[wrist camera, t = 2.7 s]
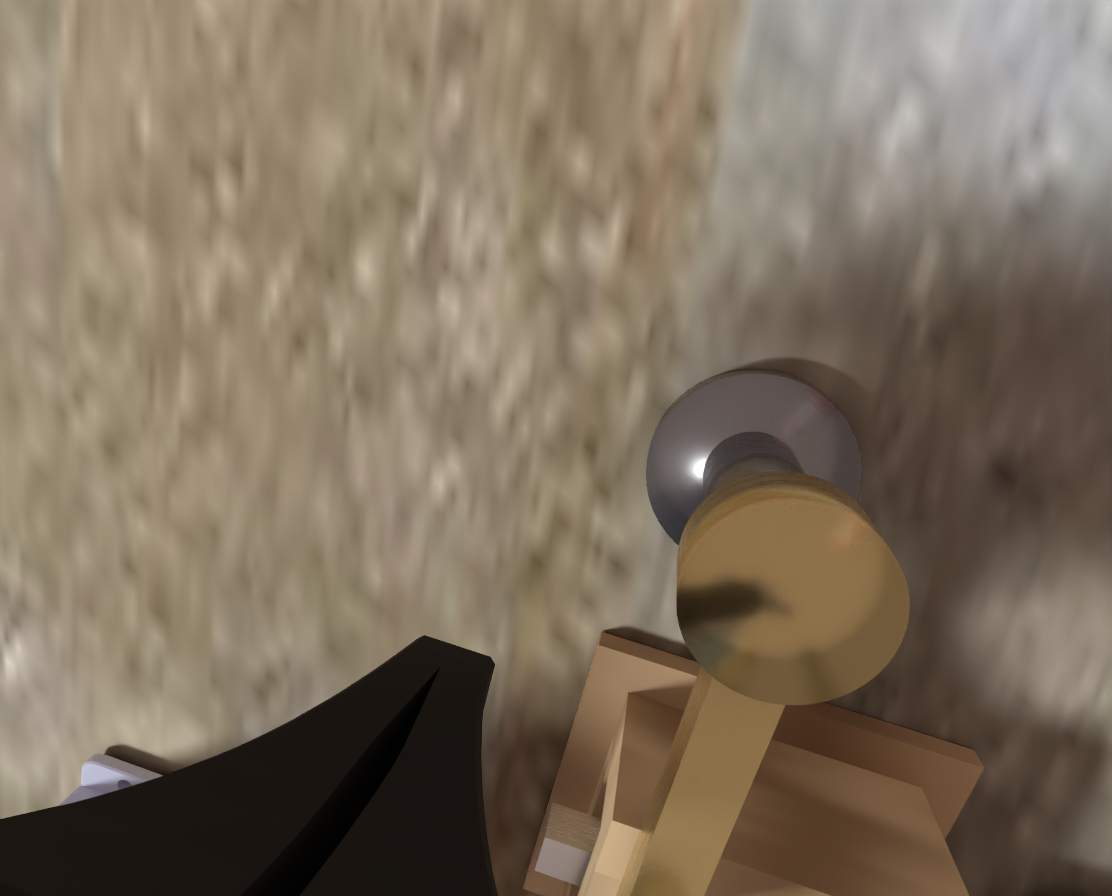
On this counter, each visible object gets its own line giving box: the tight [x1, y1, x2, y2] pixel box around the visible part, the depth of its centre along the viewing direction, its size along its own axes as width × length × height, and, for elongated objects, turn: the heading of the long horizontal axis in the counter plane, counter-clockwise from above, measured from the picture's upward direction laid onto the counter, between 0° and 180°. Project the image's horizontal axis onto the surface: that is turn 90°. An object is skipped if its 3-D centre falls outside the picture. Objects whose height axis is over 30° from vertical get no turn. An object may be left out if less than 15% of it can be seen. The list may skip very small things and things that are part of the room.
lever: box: [616, 471, 910, 896], centre depth 11 cm, size 9×3×2 cm, turn 166°
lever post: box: [646, 369, 862, 545], centre depth 13 cm, size 4×4×4 cm
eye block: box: [523, 632, 985, 896], centre depth 16 cm, size 9×8×4 cm
